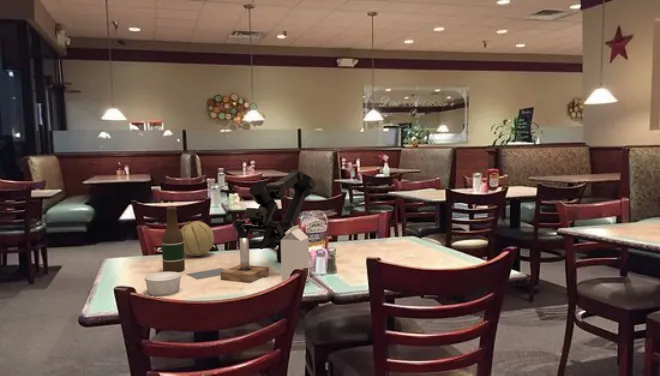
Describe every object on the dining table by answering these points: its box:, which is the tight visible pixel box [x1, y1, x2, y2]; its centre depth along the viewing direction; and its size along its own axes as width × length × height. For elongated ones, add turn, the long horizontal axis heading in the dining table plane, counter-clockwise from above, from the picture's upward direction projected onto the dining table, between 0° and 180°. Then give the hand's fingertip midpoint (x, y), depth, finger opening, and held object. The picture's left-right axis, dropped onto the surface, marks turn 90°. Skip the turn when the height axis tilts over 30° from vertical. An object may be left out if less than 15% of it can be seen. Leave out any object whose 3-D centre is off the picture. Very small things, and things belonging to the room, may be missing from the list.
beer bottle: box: [161, 206, 186, 273], centre depth 198 cm, size 8×8×24 cm
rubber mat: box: [185, 267, 226, 280], centre depth 193 cm, size 14×10×1 cm
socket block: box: [220, 263, 270, 284], centre depth 187 cm, size 12×12×3 cm
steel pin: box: [239, 237, 250, 271], centre depth 187 cm, size 3×3×14 cm
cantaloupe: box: [179, 220, 215, 257], centre depth 225 cm, size 15×15×15 cm
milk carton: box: [280, 224, 310, 283], centre depth 179 cm, size 7×7×19 cm
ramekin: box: [144, 271, 182, 296], centre depth 172 cm, size 11×11×5 cm
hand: (249, 247), depth 189 cm, fingers open, 9 cm apart
